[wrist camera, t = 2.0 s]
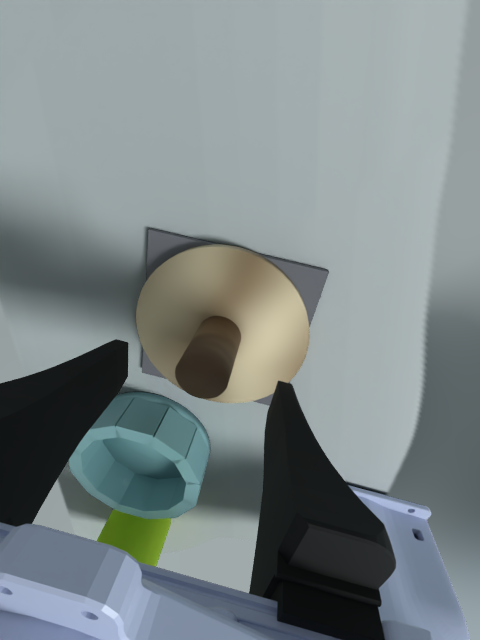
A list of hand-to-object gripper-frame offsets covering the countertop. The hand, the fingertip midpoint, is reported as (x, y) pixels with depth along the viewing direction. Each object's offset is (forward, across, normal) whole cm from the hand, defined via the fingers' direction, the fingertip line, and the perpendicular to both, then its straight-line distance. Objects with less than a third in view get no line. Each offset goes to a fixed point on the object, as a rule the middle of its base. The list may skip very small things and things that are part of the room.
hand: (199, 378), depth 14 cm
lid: (+5, 0, 0) cm, 5 cm away
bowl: (+5, +4, +12) cm, 14 cm away
